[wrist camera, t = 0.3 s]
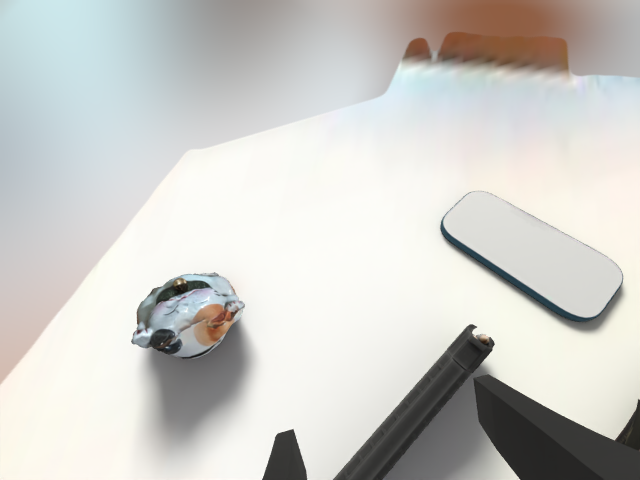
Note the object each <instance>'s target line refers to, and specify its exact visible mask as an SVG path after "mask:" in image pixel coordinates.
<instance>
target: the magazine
mask: <svg viewBox="0 0 640 480" xmlns="http://www.w3.org/2000/svg"><path fill="white" fill-rule="evenodd" d="M475 328H477V326H475V325H473V324H472V325H468V326H467V327H466V328H465V329H464V331H463V332H462V333H461V334H460V335H459V336H458V337H457V338H456V340H455V341H454V342H453V343H452V344H451V345H450V346H449V347H448V349H447V350H446V351H445V353H444V354H443V355H442V356H441V357H440V358H439V359H438V361H437V362H436V363H435V364H434V365H433V366H432V367H431V368H430V370H429V371H428V372H427V373H426V374H425V375H424V376H423V378H422V379H421V380H420V381H419V382H418V383H417V384H416V385H415V387H414V388H413V389H412V390H411V391H410V392H409V393H408V395H407V396H406V397H405V398H404V399H403V400H402V401H401V403H400V404H399V405H398V406H397V407H396V408H395V409H394V410H393V412H392V413H391V414H390V415H389V416H388V417H387V418H386V420H385V421H384V422H383V423H382V424H381V425H380V426H379V428H378V429H377V430H376V431H375V432H374V433H373V434H372V436H371V437H370V438H369V439H368V440H367V441H366V442H365V444H364V445H363V446H362V447H361V448H360V449H359V450H358V452H357V453H356V454H355V455H354V456H353V457H352V458H351V460H350V461H349V462H348V463H347V464H346V465H345V467H344V468H343V469H342V470H341V471H340V472H339V473H338V475H337V476H336V477H335V478H334V479H333V480H382V479H383V478H384V477H385V476H386V474H387V473H388V472H389V471H390V470H391V469H392V468H393V466H394V465H395V463H396V462H397V461H398V460H399V459H400V457H401V456H402V455H403V454H404V453H405V451H406V450H407V449H408V448H409V447H410V445H411V444H412V443H413V442H414V441H415V439H417V437H418V436H419V435H420V433H421V432H422V431H423V430H424V429H425V427H426V426H428V424H429V423H430V421H431V420H432V419H433V418H434V417H435V415H436V414H437V413H438V412H439V411H440V410H441V408H442V407H443V406H444V405H445V404H446V403H447V401H448V400H449V399H450V398H451V397H452V396H453V394H454V393H455V392H456V391H457V390H458V389H459V387H460V386H462V384H463V383H464V382H465V380H466V379H467V378H468V377H469V376H470V375H471V374H472V373H473V372H474V371H475V370H476V369H477V367H478V366H479V365H480V364H481V363H482V362H483V361H484V359H485V358H486V357H487V356H488V355H489V354H490V352H491V351H492V348H493V346H494V345H495V344H494V341H493V340H492V338H491V337H488V336H486V335H485V334H480V335H476V336H475V335H474V334H472V331H473V329H475Z"/></svg>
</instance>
